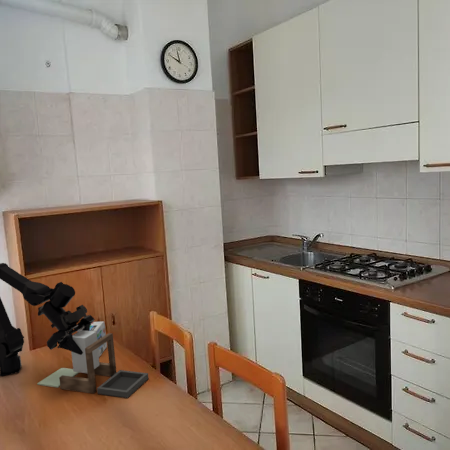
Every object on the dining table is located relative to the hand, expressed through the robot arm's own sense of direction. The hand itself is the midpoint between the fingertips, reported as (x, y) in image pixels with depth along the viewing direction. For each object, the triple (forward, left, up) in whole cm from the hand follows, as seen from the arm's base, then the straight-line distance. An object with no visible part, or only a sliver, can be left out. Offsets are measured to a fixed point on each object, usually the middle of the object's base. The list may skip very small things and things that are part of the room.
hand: (88, 349), depth 150 cm
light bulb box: (+3, +26, -12) cm, 28 cm away
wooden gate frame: (-1, +1, -11) cm, 11 cm away
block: (-1, +1, -7) cm, 7 cm away
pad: (-10, +8, -11) cm, 17 cm away
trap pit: (+10, -8, -11) cm, 17 cm away
